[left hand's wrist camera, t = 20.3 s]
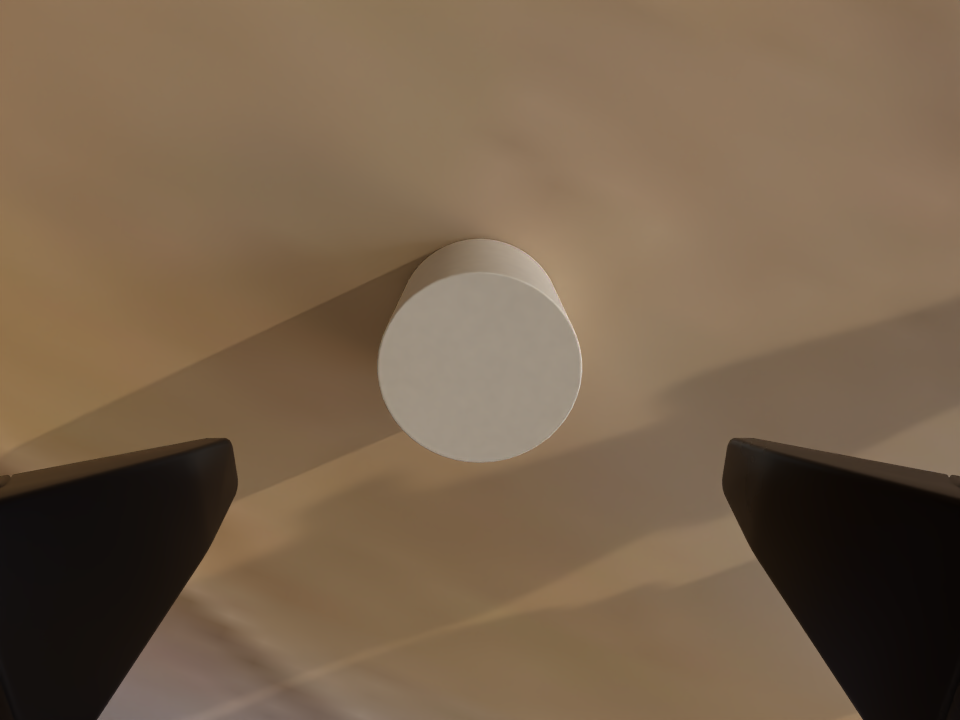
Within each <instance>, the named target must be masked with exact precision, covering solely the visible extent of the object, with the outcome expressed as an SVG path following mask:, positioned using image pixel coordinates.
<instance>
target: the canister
mask: <svg viewBox="0 0 960 720" xmlns="http://www.w3.org/2000/svg"><path fill="white" fill-rule="evenodd" d="M377 375H378V382H379V387H380V391H381V394H382V398H383V400H384V402H385V405H386V407H387V409H388V411H389V412H390V414H391V416H392V417H393V419H394V420H395V421H396V423H397V424H398V425H399V426H400V428H401V429H402V430H403V431H404V432H405V433H406V434H407V435H408V436H409V437H410V438H412V439H413V440H414V441H416V442H417V443H418V444H420V445H421V446H423V447H425V448H426V449H428V450H430V451H432V452H434V453H436V454H439V455H441V456H444V457H447V458H450V459H454V460H459V461H465V462H478V463H482V462H495V461H500V460H506V459H509V458H512V457H515V456H518V455H521V454H523V453H525V452H527V451H529V450H531V449H533V448H535V447H536V446H538V445H540V444H541V443H542V442H544V441H545V440H546V439H547V438H549V437H550V436H551V435H552V434H553V433H554V432H555V431H556V430H557V429H558V428H559V427H560V425H561V424H562V423H563V422H564V420H565V419H566V418H567V416H568V414H569V413H570V411H571V409H572V407H573V405H574V403H575V400H576V398H577V395H578V392H579V388H580V384H581V376H582V357H581V351H580V345H579V342H578V339H577V336H576V333H575V331H574V329H573V327H572V325H571V323H570V320H569V318H568V316H567V314H566V312H565V310H564V308H563V306H562V303H561V301H560V299H559V297H558V295H557V293H556V291H555V288H554V286H553V284H552V282H551V280H550V278H549V277H548V275H547V274H546V272H545V271H544V269H543V268H542V267H541V266H540V265H539V264H538V262H536V261H535V260H534V259H533V258H532V257H531V256H530V255H528V254H527V253H525V252H524V251H522V250H521V249H519V248H516V247H514V246H512V245H510V244H507V243H504V242H501V241H496V240H491V239H468V240H463V241H458V242H455V243H452V244H449V245H447V246H445V247H443V248H441V249H439V250H437V251H436V252H434V253H433V254H431V255H430V256H428V257H427V258H426V259H425V260H424V261H423V262H422V263H421V264H420V265H419V266H418V267H417V269H416V270H415V271H414V272H413V274H412V276H411V277H410V279H409V280H408V283H407V285H406V287H405V289H404V291H403V293H402V295H401V297H400V299H399V302H398V304H397V306H396V308H395V310H394V312H393V314H392V316H391V318H390V321H389V323H388V325H387V327H386V329H385V331H384V334H383V336H382V339H381V343H380V346H379V351H378V358H377Z"/></svg>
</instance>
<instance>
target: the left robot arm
mask: <svg viewBox="0 0 960 720" xmlns="http://www.w3.org/2000/svg"><path fill="white" fill-rule="evenodd" d="M237 486H238V478H237V471H236V465H235V458H234V452H233V446H232V444H231V442H230V440H228V439H227V438H205V439H200V440H195V441H189V442H184V443H179V444H173V445H168V446H163V447H157V448H152V449H147V450H141V451H136V452H131V453H125V454H120V455H115V456H110V457H104V458H99V459H94V460H88V461H83V462H78V463H72V464H67V465H62V466H56V467H51V468H46V469H40V470H35V471H30V472H24V473H19V474H14V475H12V477H10V476H9V475H4V476H0V720H97V719H98V717H99V716H100V714H101V713H102V711H103V710H104V708H105V707H106V705H107V704H108V702H109V701H110V699H111V698H112V696H113V695H114V693H115V692H116V690H117V689H118V687H119V685H120V684H121V682H122V681H123V679H124V678H125V676H126V675H127V673H128V672H129V670H130V669H131V667H132V666H133V664H134V663H135V661H136V660H137V658H138V657H139V655H140V654H141V652H142V650H143V649H144V647H145V646H146V644H147V643H148V641H149V640H150V638H151V637H152V635H153V634H154V632H155V631H156V629H157V628H158V626H159V625H160V623H161V622H162V620H163V619H164V617H165V616H166V614H167V612H168V611H169V609H170V608H171V606H172V605H173V603H174V602H175V600H176V599H177V597H178V596H179V594H180V593H181V591H182V590H183V588H184V587H185V585H186V584H187V582H188V581H189V579H190V577H191V576H192V574H193V573H194V571H195V570H196V568H197V567H198V565H199V564H200V562H201V561H202V559H203V558H204V556H205V554H206V553H207V551H208V549H209V547H210V546H211V544H212V542H213V540H214V538H215V536H216V534H217V532H218V530H219V528H220V526H221V523H222V521H223V519H224V517H225V515H226V513H227V511H228V509H229V507H230V505H231V503H232V501H233V499H234V497H235V494H236V491H237ZM722 486H723V491H724V494H725V497H726V499H727V501H728V503H729V505H730V507H731V509H732V511H733V513H734V515H735V517H736V519H737V521H738V523H739V526H740V528H741V530H742V532H743V534H744V536H745V538H746V540H747V542H748V544H749V546H750V547H751V549H752V551H753V553H754V554H755V556H756V558H757V559H758V561H759V562H760V564H761V565H762V567H763V568H764V570H765V571H766V573H767V574H768V576H769V577H770V579H771V581H772V582H773V584H774V585H775V587H776V588H777V590H778V591H779V593H780V594H781V596H782V597H783V599H784V600H785V602H786V603H787V605H788V606H789V608H790V609H791V611H792V612H793V614H794V615H795V617H796V618H797V620H798V622H799V623H800V625H801V626H802V628H803V629H804V631H805V632H806V634H807V635H808V637H809V638H810V640H811V641H812V643H813V644H814V646H815V647H816V649H817V650H818V652H819V653H820V655H821V656H822V658H823V660H824V661H825V663H826V664H827V666H828V667H829V669H830V670H831V672H832V673H833V675H834V676H835V678H836V679H837V681H838V682H839V684H840V685H841V687H842V688H843V690H844V691H845V693H846V695H847V696H848V698H849V699H850V701H851V702H852V704H853V705H854V707H855V708H856V710H857V711H858V713H859V714H860V716H861V717H862V719H863V720H960V476H956V475H951V476H950V477H948V475H946V474H941V473H936V472H931V471H925V470H920V469H915V468H909V467H904V466H899V465H893V464H888V463H883V462H877V461H872V460H867V459H861V458H856V457H851V456H845V455H840V454H835V453H829V452H824V451H819V450H813V449H808V448H803V447H797V446H792V445H787V444H781V443H776V442H771V441H765V440H760V439H755V438H733V439H732V440H730V442H729V444H728V446H727V452H726V458H725V465H724V471H723V478H722Z"/></svg>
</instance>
